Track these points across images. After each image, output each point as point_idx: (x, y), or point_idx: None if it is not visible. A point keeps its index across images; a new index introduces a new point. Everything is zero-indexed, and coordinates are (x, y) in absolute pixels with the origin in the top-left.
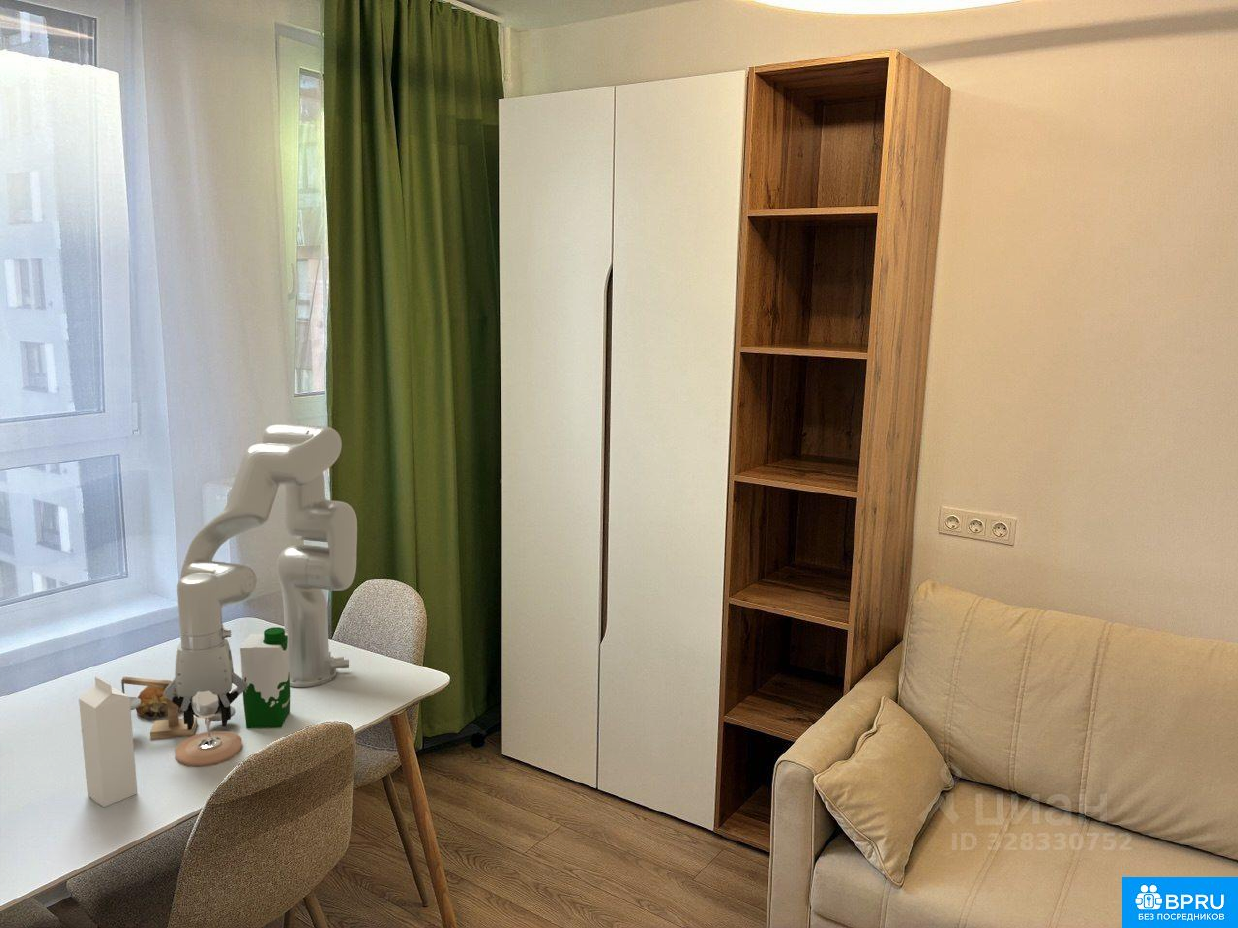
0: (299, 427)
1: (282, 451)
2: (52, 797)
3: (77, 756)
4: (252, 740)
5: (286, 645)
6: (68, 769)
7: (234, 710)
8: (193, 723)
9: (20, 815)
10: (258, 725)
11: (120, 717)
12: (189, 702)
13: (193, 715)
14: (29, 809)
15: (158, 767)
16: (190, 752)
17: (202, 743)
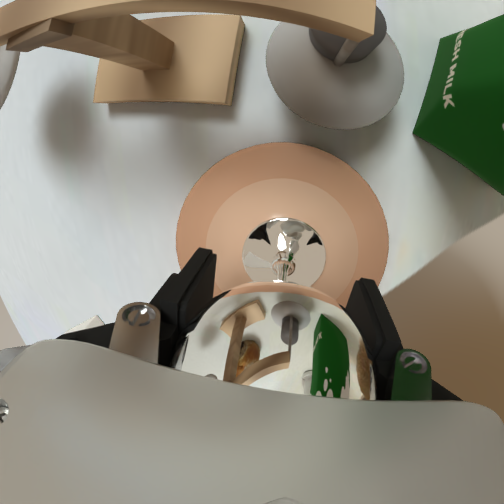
0: None
1: None
2: (28, 306)
3: (6, 166)
4: (414, 230)
5: None
6: (9, 218)
7: (400, 77)
8: (215, 270)
9: (22, 331)
10: (450, 156)
11: None
12: (160, 344)
13: (206, 272)
14: (22, 322)
15: (150, 285)
16: (223, 282)
17: (260, 268)
